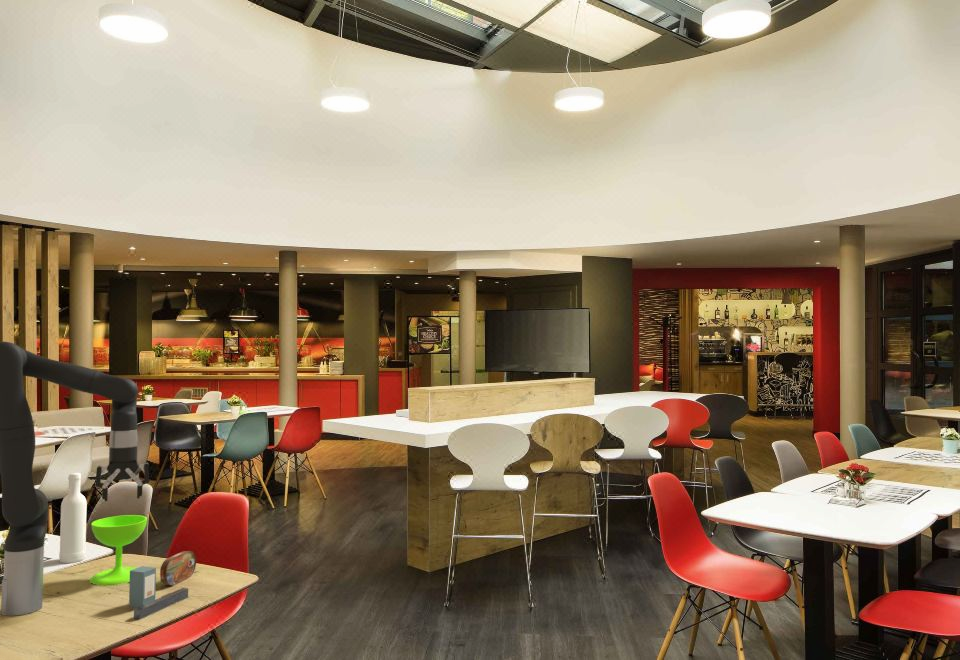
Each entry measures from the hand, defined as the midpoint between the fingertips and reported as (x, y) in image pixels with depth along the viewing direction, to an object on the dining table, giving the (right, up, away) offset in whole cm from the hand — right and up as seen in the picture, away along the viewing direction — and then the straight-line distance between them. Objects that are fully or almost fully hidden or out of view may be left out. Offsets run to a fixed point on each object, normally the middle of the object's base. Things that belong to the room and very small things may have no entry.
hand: (122, 499), depth 203 cm
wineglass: (-9, -29, +14) cm, 34 cm away
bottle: (-35, -30, +33) cm, 56 cm away
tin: (+12, -29, +11) cm, 33 cm away
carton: (+11, -28, -9) cm, 31 cm away
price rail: (+17, -28, -12) cm, 35 cm away
